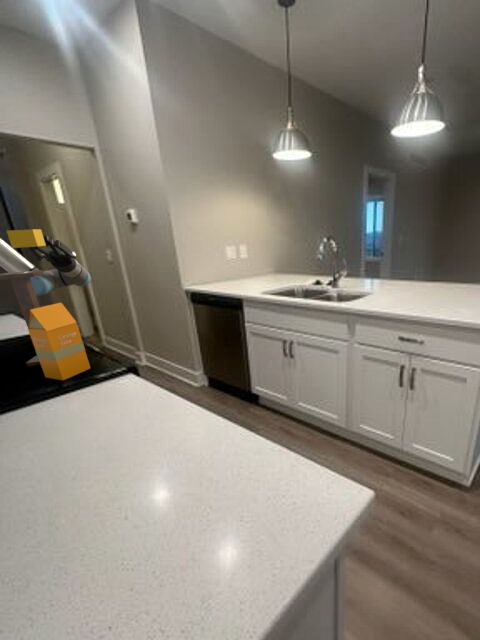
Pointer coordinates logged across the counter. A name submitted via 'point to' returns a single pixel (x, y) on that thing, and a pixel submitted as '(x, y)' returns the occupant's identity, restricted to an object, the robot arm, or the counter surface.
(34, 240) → the yellow rectangular block
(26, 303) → the tall stand
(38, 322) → the orange juice
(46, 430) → the counter surface
